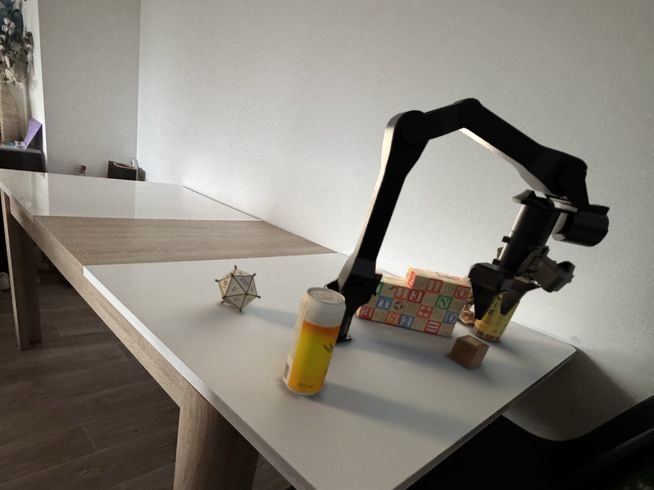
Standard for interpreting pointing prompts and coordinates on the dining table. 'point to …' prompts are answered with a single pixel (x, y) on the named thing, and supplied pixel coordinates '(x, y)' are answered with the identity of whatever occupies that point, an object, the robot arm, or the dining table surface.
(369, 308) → the stack of blocks
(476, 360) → the wooden cube
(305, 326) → the beer can
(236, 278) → the game die
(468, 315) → the plant with pod
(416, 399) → the dining table surface
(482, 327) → the sauce bottle
